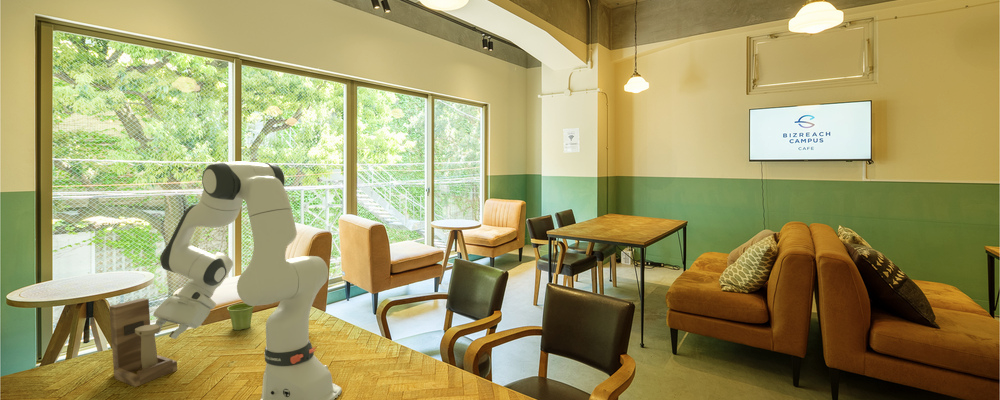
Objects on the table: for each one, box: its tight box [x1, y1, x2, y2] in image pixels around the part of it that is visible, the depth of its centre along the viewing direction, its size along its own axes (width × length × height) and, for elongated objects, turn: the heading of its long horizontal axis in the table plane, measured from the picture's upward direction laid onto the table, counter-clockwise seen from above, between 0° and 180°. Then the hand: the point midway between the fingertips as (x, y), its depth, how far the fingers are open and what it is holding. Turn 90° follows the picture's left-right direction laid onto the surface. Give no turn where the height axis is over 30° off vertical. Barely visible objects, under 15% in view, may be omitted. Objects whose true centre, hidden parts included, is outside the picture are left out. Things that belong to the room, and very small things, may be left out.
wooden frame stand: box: [108, 297, 178, 388], centre depth 135 cm, size 14×11×22 cm
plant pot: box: [226, 302, 255, 331], centre depth 173 cm, size 9×9×9 cm
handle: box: [135, 324, 161, 370], centre depth 135 cm, size 5×6×15 cm
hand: (163, 335), depth 138 cm, fingers open, 8 cm apart
